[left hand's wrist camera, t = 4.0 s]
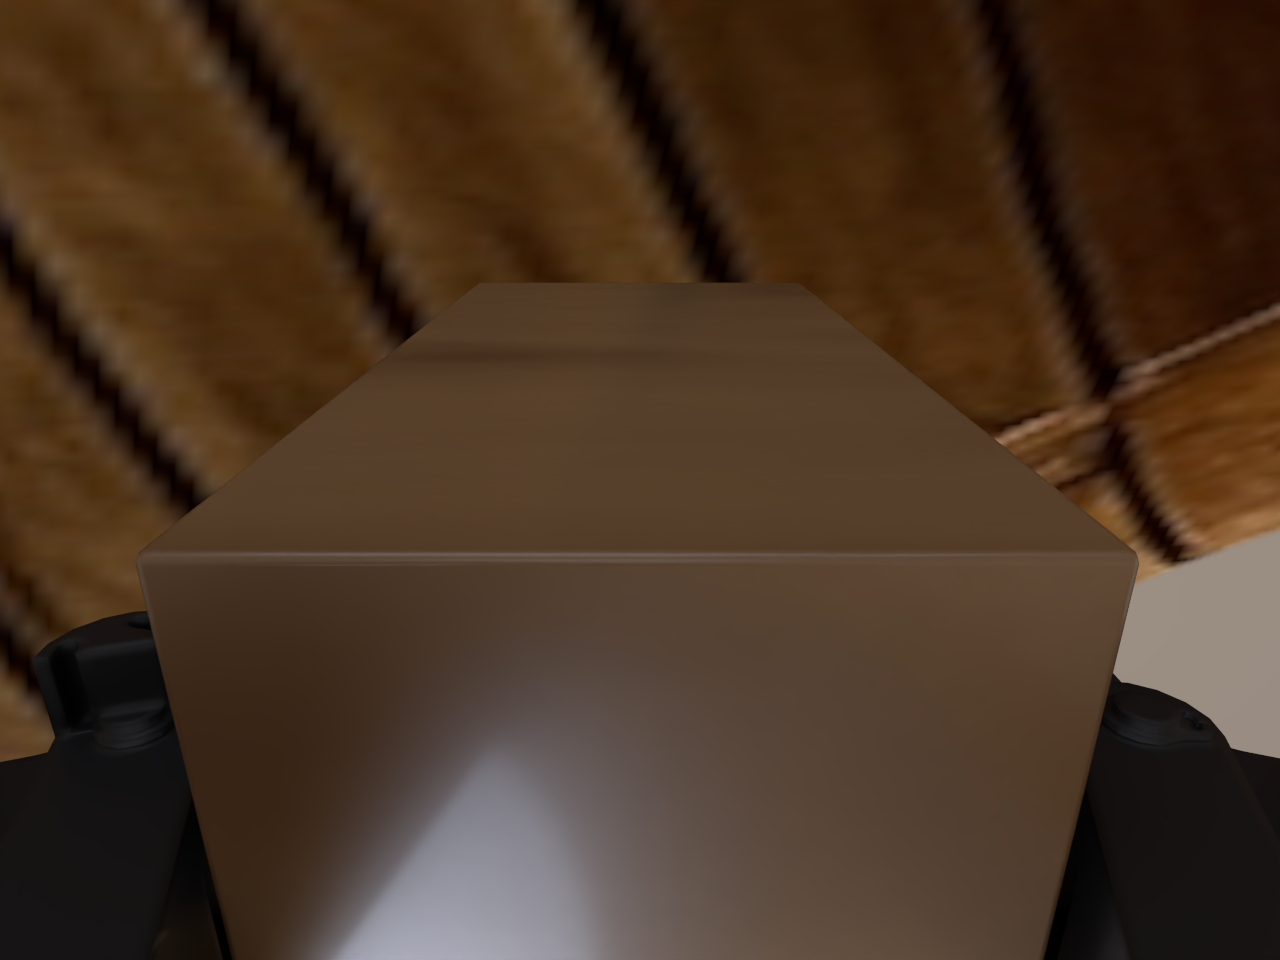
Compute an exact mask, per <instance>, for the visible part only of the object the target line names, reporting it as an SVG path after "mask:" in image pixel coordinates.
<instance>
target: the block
mask: <svg viewBox="0 0 1280 960" xmlns="http://www.w3.org/2000/svg"><path fill="white" fill-rule="evenodd" d="M1138 566H1139V563H1138V557H1137V554H1136V552H1135V551H1134V550H1133V549H1131V548H1130V547H1129V546H1128V545H1126V544H1125V543H1124V542H1123V541H1121V540H1120V539H1119V538H1117V537H1116V536H1115V535H1114V534H1112V533H1111V532H1110V531H1109V530H1107V529H1106V528H1105V527H1104V526H1102V525H1101V524H1100V523H1099V522H1097V521H1096V520H1095V519H1094V518H1092V517H1091V516H1090V515H1089V514H1087V513H1086V512H1085V511H1084V510H1082V509H1081V508H1080V507H1079V506H1077V505H1076V504H1075V503H1074V502H1072V501H1071V500H1070V499H1069V498H1067V497H1066V496H1065V495H1064V494H1062V493H1061V492H1060V491H1059V490H1057V489H1056V488H1055V487H1054V486H1052V485H1051V484H1050V483H1049V482H1047V481H1046V480H1045V479H1044V478H1042V477H1041V476H1040V475H1039V474H1037V473H1036V472H1035V471H1034V470H1032V469H1031V468H1030V467H1029V466H1027V465H1026V464H1025V463H1024V462H1022V461H1021V460H1020V459H1019V458H1017V457H1016V456H1015V455H1014V454H1012V453H1011V452H1010V451H1009V450H1007V449H1006V448H1005V447H1004V446H1002V445H1001V444H1000V443H999V442H997V441H996V440H995V439H994V438H992V437H991V436H990V435H989V434H987V433H986V432H985V431H984V430H982V429H981V428H980V427H979V426H977V425H976V424H975V423H974V422H972V421H971V420H970V419H969V418H967V417H966V416H965V415H964V414H962V413H961V412H960V411H959V410H957V409H956V408H955V407H954V406H952V405H951V404H950V403H949V402H947V401H946V400H945V399H944V398H942V397H941V396H940V395H939V394H937V393H936V392H935V391H934V390H932V389H931V388H930V387H929V386H927V385H926V384H925V383H924V382H922V381H921V380H920V379H919V378H917V377H916V376H915V375H914V374H912V373H911V372H910V371H909V370H907V369H906V368H905V367H904V366H902V365H901V364H900V363H899V362H897V361H896V360H895V359H894V358H892V357H891V356H890V355H889V354H887V353H886V352H885V351H884V350H882V349H881V348H880V347H879V346H877V345H876V344H875V343H874V342H872V341H871V340H870V339H869V338H867V337H866V336H865V335H864V334H862V333H861V332H860V331H859V330H857V329H856V328H855V327H854V326H852V325H851V324H850V323H849V322H847V321H846V320H845V319H844V318H842V317H841V316H840V315H839V314H837V313H836V312H835V311H834V310H832V309H831V308H830V307H829V306H827V305H826V304H825V303H824V302H822V301H821V300H820V299H819V298H817V297H816V296H815V295H813V294H812V293H811V292H810V291H808V290H807V289H806V288H805V287H803V286H802V285H801V284H799V283H479V284H477V285H476V286H475V287H473V288H472V289H471V290H470V291H468V292H467V293H466V294H465V295H463V296H462V297H461V298H460V299H458V300H457V301H456V302H454V303H453V304H452V305H451V306H449V307H448V308H447V309H446V310H444V311H443V312H442V313H441V314H439V315H438V316H437V317H436V318H434V319H433V320H432V321H430V322H429V323H428V324H427V325H425V326H424V327H423V328H422V329H420V330H419V331H418V332H417V333H415V334H414V335H413V336H412V337H410V338H409V339H408V340H406V341H405V342H404V343H403V344H401V345H400V346H399V347H398V348H396V349H395V350H394V351H393V352H391V353H390V354H389V355H388V356H386V357H385V358H384V359H382V360H381V361H380V362H379V363H377V364H376V365H375V366H374V367H372V368H371V369H370V370H369V371H367V372H366V373H365V374H364V375H362V376H361V377H360V378H358V379H357V380H356V381H355V382H353V383H352V384H351V385H350V386H348V387H347V388H346V389H345V390H343V391H342V392H341V393H340V394H338V395H337V396H336V397H334V398H333V399H332V400H331V401H329V402H328V403H327V404H326V405H324V406H323V407H322V408H321V409H319V410H318V411H317V412H316V413H314V414H313V415H312V416H310V417H309V418H308V419H307V420H305V421H304V422H303V423H302V424H300V425H299V426H298V427H297V428H295V429H294V430H293V431H291V432H290V433H289V434H288V435H286V436H285V437H284V438H283V439H281V440H280V441H279V442H278V443H276V444H275V445H274V446H273V447H271V448H270V449H269V450H267V451H266V452H265V453H264V454H262V455H261V456H260V457H259V458H257V459H256V460H255V461H254V462H252V463H251V464H250V465H249V466H247V467H246V468H245V469H243V470H242V471H241V472H240V473H238V474H237V475H236V476H235V477H233V478H232V479H231V480H230V481H228V482H227V483H226V484H225V485H223V486H222V487H221V488H219V489H218V490H217V491H216V492H214V493H213V494H212V495H211V496H209V497H208V498H207V499H206V500H204V501H203V502H202V503H201V504H199V505H198V506H197V507H195V508H194V509H193V510H192V511H190V512H189V513H188V514H187V515H185V516H184V517H183V518H182V519H180V520H179V521H178V522H177V523H175V524H174V525H173V526H171V527H170V528H169V529H168V530H166V531H165V532H164V533H163V534H161V535H160V536H159V537H158V538H156V539H155V540H154V541H153V542H151V543H150V544H149V545H147V546H146V547H145V548H144V549H142V550H141V551H140V552H139V554H138V556H137V561H136V568H137V572H138V576H139V580H140V584H141V588H142V592H143V596H144V600H145V604H146V609H147V613H148V617H149V621H150V625H151V629H152V633H153V637H154V641H155V645H156V650H157V654H158V658H159V662H160V666H161V670H162V674H163V678H164V682H165V686H166V691H167V695H168V699H169V703H170V707H171V711H172V715H173V719H174V723H175V727H176V732H177V736H178V740H179V744H180V748H181V752H182V756H183V760H184V764H185V768H186V773H187V777H188V781H189V785H190V789H191V793H192V797H193V801H194V805H195V810H196V814H197V818H198V822H199V826H200V830H201V834H202V838H203V842H204V846H205V851H206V855H207V859H208V863H209V867H210V871H211V875H212V879H213V883H214V887H215V892H216V896H217V900H218V904H219V908H220V912H221V916H222V920H223V924H224V928H225V933H226V937H227V941H228V945H229V949H230V953H231V957H232V960H1044V956H1045V952H1046V948H1047V944H1048V940H1049V935H1050V931H1051V927H1052V923H1053V919H1054V915H1055V911H1056V906H1057V902H1058V898H1059V894H1060V890H1061V886H1062V882H1063V877H1064V873H1065V869H1066V865H1067V861H1068V857H1069V852H1070V848H1071V844H1072V840H1073V836H1074V832H1075V828H1076V823H1077V819H1078V815H1079V811H1080V807H1081V803H1082V799H1083V794H1084V790H1085V786H1086V782H1087V778H1088V774H1089V770H1090V765H1091V761H1092V757H1093V753H1094V749H1095V745H1096V740H1097V736H1098V732H1099V728H1100V724H1101V720H1102V716H1103V711H1104V707H1105V703H1106V699H1107V695H1108V691H1109V687H1110V682H1111V678H1112V674H1113V670H1114V665H1115V662H1116V658H1117V653H1118V649H1119V645H1120V641H1121V637H1122V632H1123V628H1124V624H1125V620H1126V616H1127V612H1128V608H1129V604H1130V599H1131V595H1132V591H1133V587H1134V583H1135V579H1136V575H1137V570H1138Z"/></svg>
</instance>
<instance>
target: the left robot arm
mask: <svg viewBox="0 0 1280 960" xmlns="http://www.w3.org/2000/svg"><path fill="white" fill-rule="evenodd" d="M32 663H33V666H34V669H35V672H36V676H37V679H38V682H39V685H40V689H41V692H42V695H43V698H44V702H45V705H46V708H47V711H48V715H49V718H50V721H51V724H52V728H53V731H54V734H55V739H54V741H53V743H52V745H51V747H50V749H49V751H48V752H47V753H43V754H39V755H35V756H30V757H25V758H20V759H15V760H10V761H4V762H0V960H232V957H231V953H230V949H229V945H228V941H227V937H226V933H225V928H224V924H223V920H222V916H221V912H220V908H219V904H218V900H217V896H216V892H215V887H214V883H213V879H212V875H211V871H210V867H209V863H208V859H207V855H206V851H205V846H204V842H203V838H202V834H201V830H200V826H199V822H198V818H197V814H196V810H195V805H194V801H193V797H192V793H191V789H190V785H189V781H188V777H187V773H186V768H185V764H184V760H183V756H182V752H181V748H180V744H179V740H178V736H177V732H176V727H175V723H174V719H173V715H172V711H171V707H170V703H169V699H168V695H167V691H166V686H165V682H164V678H163V674H162V670H161V666H160V662H159V658H158V654H157V650H156V645H155V641H154V637H153V633H152V629H151V625H150V621H149V617H148V613H147V611H139V612H131V613H126V614H122V615H117V616H112V617H107V618H103V619H100V620H98V621H95V622H92V623H89V624H87V625H84V626H81V627H79V628H76V629H73V630H71V631H70V632H68V633H66V634H64V635H63V636H61V637H59V638H57V639H56V640H54V641H52V642H50V643H49V644H47V645H46V646H45V647H44V648H43V649H42V650H41V651H40V652H39V653H38V654H37V655H36V656H35V657H34V658H33V659H32ZM1044 960H1280V758H1275V757H1270V756H1265V755H1259V754H1254V753H1249V752H1244V751H1240V750H1236V749H1232V748H1231V747H1230V746H1229V743H1228V742H1227V740H1226V738H1225V736H1224V735H1223V734H1222V732H1221V731H1220V730H1219V729H1218V728H1217V727H1216V725H1215V724H1214V723H1213V722H1212V721H1211V719H1210V718H1208V717H1207V716H1205V715H1204V714H1202V713H1201V712H1199V711H1198V710H1196V709H1195V708H1193V707H1192V706H1190V705H1189V704H1187V703H1186V702H1184V701H1181V700H1179V699H1177V698H1174V697H1172V696H1170V695H1167V694H1165V693H1163V692H1160V691H1158V690H1154V689H1150V688H1146V687H1142V686H1138V685H1134V684H1130V683H1122V682H1120V680H1119V679H1118V678H1117V677H1116V676H1115V675H1114V674H1112V678H1111V682H1110V687H1109V691H1108V695H1107V699H1106V703H1105V707H1104V711H1103V716H1102V720H1101V724H1100V728H1099V732H1098V736H1097V740H1096V745H1095V749H1094V753H1093V757H1092V761H1091V765H1090V770H1089V774H1088V778H1087V782H1086V786H1085V790H1084V794H1083V799H1082V803H1081V807H1080V811H1079V815H1078V819H1077V823H1076V828H1075V832H1074V836H1073V840H1072V844H1071V848H1070V852H1069V857H1068V861H1067V865H1066V869H1065V873H1064V877H1063V882H1062V886H1061V890H1060V894H1059V898H1058V902H1057V906H1056V911H1055V915H1054V919H1053V923H1052V927H1051V931H1050V935H1049V940H1048V944H1047V948H1046V952H1045V956H1044Z"/></svg>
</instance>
